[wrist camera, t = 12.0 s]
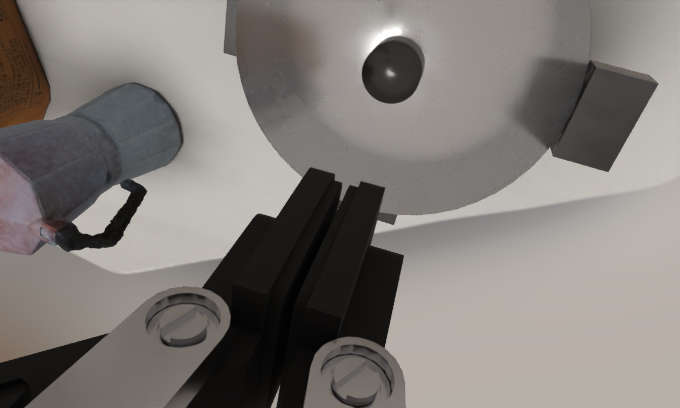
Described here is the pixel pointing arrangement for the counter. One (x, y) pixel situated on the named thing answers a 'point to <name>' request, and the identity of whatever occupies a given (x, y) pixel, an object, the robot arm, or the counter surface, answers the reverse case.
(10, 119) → the pancake mix bag
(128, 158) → the moka pot
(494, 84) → the lid
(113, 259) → the counter surface
